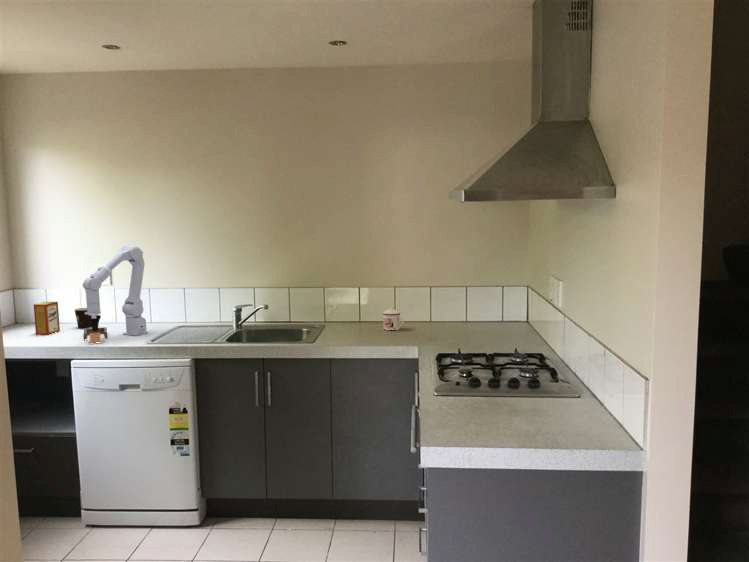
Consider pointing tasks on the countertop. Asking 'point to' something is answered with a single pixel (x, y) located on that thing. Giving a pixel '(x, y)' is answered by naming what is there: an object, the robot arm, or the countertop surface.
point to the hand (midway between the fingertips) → (95, 331)
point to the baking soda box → (46, 318)
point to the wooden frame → (100, 330)
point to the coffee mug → (82, 318)
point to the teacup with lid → (392, 319)
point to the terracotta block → (94, 337)
